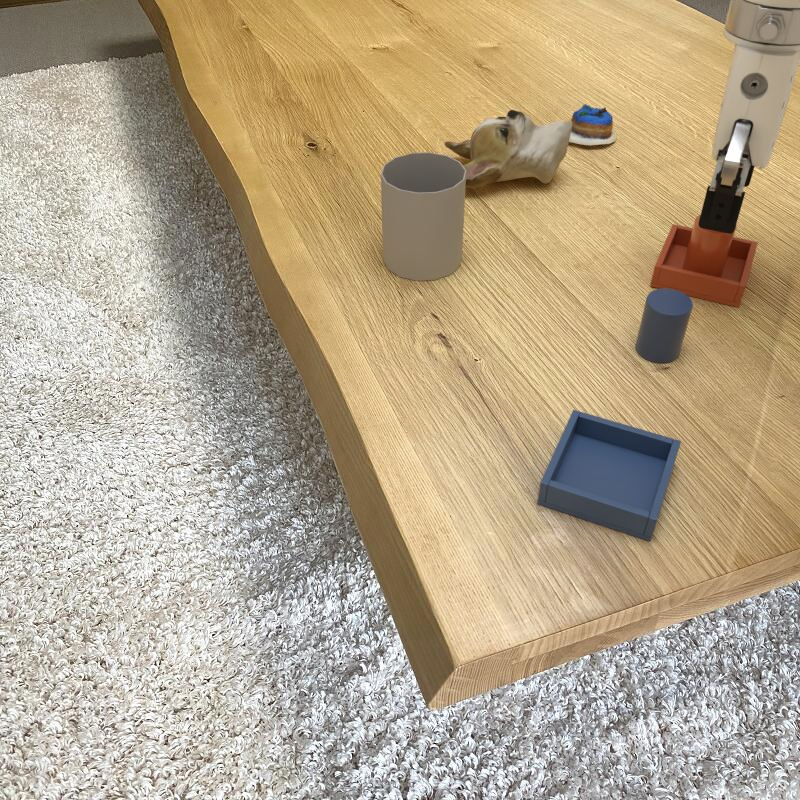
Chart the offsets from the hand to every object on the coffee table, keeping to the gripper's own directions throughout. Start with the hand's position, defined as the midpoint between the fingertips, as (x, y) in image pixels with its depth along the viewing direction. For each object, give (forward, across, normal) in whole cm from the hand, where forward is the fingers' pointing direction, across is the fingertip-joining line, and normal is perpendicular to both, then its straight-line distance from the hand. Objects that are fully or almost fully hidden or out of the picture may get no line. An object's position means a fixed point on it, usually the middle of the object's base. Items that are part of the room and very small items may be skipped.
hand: (724, 205), depth 80 cm
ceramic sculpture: (+8, +12, +26) cm, 29 cm away
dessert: (+8, +26, +20) cm, 34 cm away
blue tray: (+9, -32, +2) cm, 33 cm away
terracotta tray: (+8, 0, 0) cm, 8 cm away
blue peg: (+8, -14, +2) cm, 16 cm away
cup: (+8, -8, +28) cm, 30 cm away
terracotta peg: (+8, 0, 0) cm, 8 cm away
